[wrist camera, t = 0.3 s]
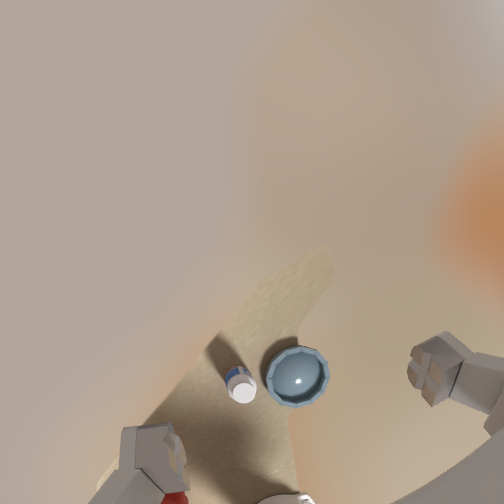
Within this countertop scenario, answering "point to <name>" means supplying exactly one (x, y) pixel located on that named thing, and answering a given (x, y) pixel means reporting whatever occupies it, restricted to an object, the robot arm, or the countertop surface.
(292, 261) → the countertop surface
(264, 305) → the countertop surface
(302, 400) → the dish
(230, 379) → the pill bottle
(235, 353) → the countertop surface
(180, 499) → the vegetable
